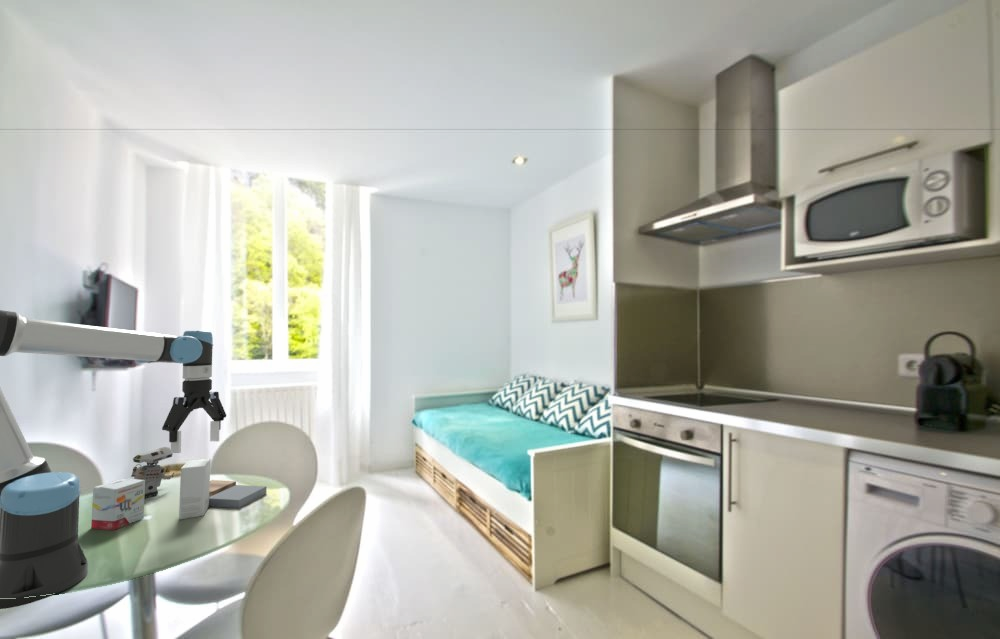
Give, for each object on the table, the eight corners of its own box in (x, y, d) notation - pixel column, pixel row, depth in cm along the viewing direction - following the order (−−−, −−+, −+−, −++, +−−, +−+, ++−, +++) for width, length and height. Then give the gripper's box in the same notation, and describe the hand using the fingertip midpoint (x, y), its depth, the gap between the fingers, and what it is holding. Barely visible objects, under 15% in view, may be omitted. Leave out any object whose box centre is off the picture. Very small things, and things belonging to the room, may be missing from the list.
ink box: (113, 530, 115) (114, 488, 115) (90, 528, 117) (91, 487, 117) (145, 517, 123) (146, 478, 124) (123, 515, 125) (124, 476, 126)
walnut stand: (211, 500, 135) (212, 491, 136) (186, 499, 137) (186, 490, 137) (235, 489, 145) (236, 481, 145) (211, 488, 147) (211, 480, 147)
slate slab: (239, 508, 129) (239, 500, 129) (206, 506, 131) (206, 498, 131) (266, 493, 141) (266, 486, 141) (236, 492, 143) (236, 484, 143)
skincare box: (186, 509, 129) (187, 460, 129) (211, 506, 131) (211, 457, 132) (178, 520, 121) (179, 467, 122) (204, 516, 124) (205, 464, 124)
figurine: (177, 489, 146) (178, 448, 147) (136, 500, 137) (137, 456, 137) (168, 485, 151) (169, 444, 152) (128, 495, 142) (129, 452, 142)
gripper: (169, 383, 115) (168, 458, 114) (239, 375, 140) (238, 437, 139) (147, 383, 116) (145, 457, 115) (220, 375, 141) (219, 436, 140)
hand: (196, 446), depth 127 cm, fingers open, 13 cm apart
